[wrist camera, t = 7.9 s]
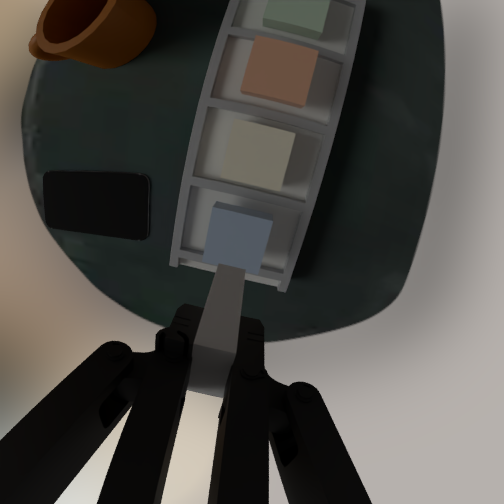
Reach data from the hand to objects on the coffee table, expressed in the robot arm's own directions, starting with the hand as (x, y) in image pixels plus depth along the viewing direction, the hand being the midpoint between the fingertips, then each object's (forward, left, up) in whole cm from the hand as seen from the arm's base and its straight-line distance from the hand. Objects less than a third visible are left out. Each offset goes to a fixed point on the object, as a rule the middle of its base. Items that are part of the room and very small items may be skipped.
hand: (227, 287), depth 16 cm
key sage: (-21, 0, -10) cm, 23 cm away
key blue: (0, 0, -9) cm, 9 cm away
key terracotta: (-14, 0, -9) cm, 17 cm away
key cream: (-7, 0, -10) cm, 12 cm away
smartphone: (+2, -17, -14) cm, 22 cm away
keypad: (-10, 0, -13) cm, 17 cm away
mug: (-17, -19, -13) cm, 29 cm away
